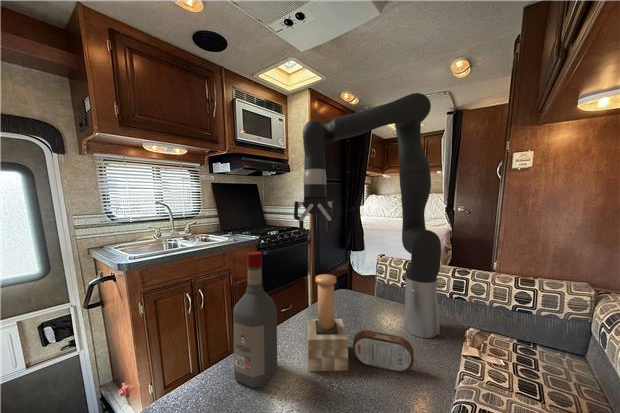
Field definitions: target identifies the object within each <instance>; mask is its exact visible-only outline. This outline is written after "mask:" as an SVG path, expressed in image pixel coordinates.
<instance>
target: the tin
mask: <svg viewBox="0 0 620 413" xmlns="http://www.w3.org/2000/svg"><path fill="white" fill-rule="evenodd" d="M352 351H353V354H354V356H355V358H356V359H357V361H359V362H360V363H361V364H363V365H365V366H369V367H372V368H376V369H381V370H385V371H386V370H387V371H390V372H395V373H400V374H401V373H406V372H407V371H410V370H411V369H412V368H413V366H414V362H415V352H414V349H413V346H412V345H411V343H410V342H409V341H408V340H407V339H406V338H404V337H402V336H399V335H395V334H390V333H385V332H379V331H373V330H367V329H364V330H360V331H358V332H357V333H356V334H355V335H354V337H353V342H352Z"/></svg>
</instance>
